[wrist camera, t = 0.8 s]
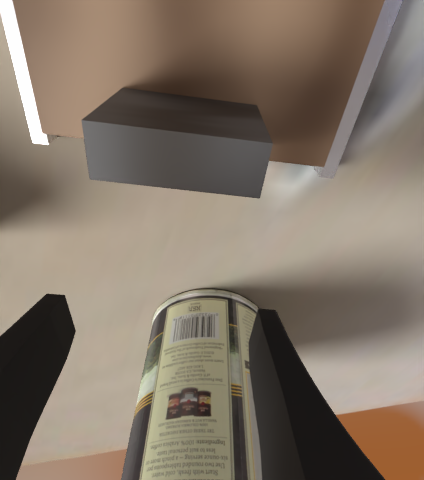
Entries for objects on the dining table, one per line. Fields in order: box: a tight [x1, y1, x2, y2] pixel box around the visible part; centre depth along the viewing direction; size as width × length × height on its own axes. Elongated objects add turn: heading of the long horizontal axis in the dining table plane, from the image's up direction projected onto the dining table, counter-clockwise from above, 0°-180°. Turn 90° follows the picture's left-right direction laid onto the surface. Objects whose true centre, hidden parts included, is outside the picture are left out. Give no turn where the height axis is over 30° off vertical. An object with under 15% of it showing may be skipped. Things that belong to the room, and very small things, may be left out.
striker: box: [12, 0, 385, 198], centre depth 11 cm, size 14×8×7 cm, turn 83°
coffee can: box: [121, 289, 262, 480], centre depth 22 cm, size 10×10×14 cm
